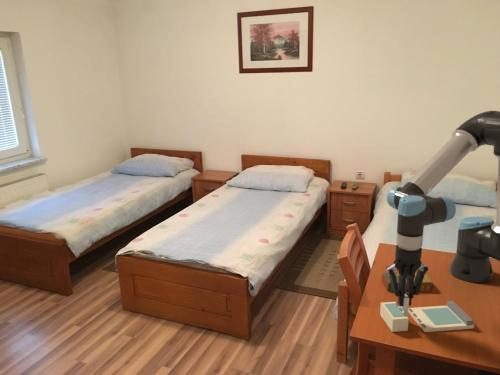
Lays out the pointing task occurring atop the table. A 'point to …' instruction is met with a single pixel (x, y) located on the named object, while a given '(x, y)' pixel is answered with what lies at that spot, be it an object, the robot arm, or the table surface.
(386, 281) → the carton
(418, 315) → the cream teal-inset panel
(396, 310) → the stub
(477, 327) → the table surface
